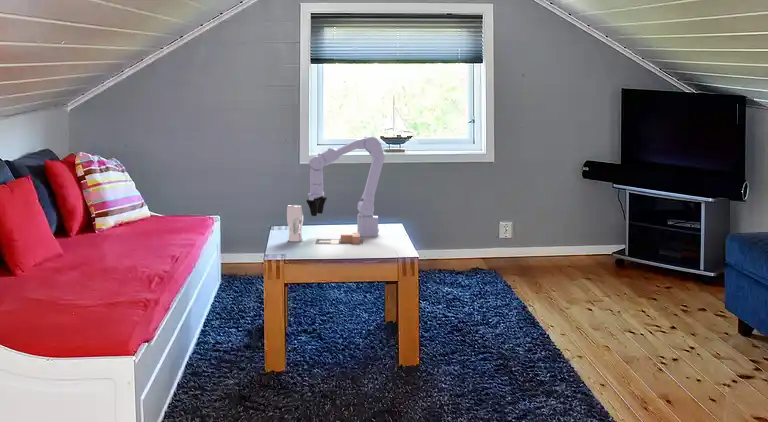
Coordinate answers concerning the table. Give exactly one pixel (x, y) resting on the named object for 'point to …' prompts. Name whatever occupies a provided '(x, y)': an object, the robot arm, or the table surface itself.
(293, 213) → the beer glass
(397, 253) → the table surface
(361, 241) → the t mat
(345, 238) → the t block
